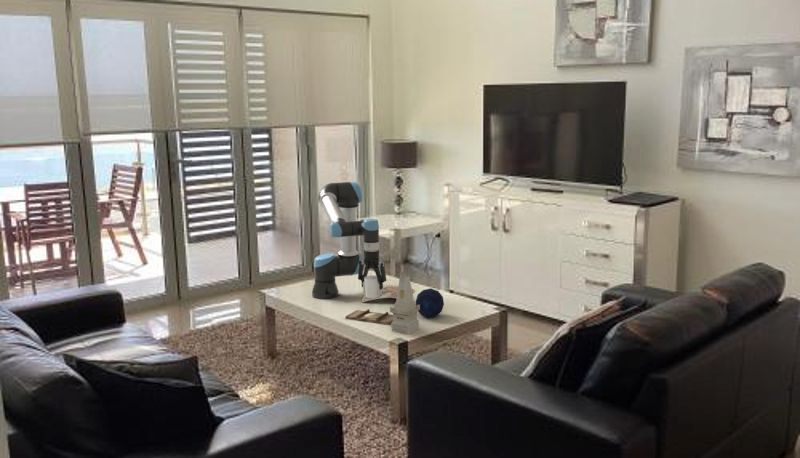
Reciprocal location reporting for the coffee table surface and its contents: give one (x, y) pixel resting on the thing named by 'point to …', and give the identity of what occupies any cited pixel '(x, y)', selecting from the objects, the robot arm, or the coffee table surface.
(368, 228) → the robot arm
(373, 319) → the brown wooden board
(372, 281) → the white cup
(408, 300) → the miniature monument
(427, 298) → the decorative orb
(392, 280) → the coffee table surface
